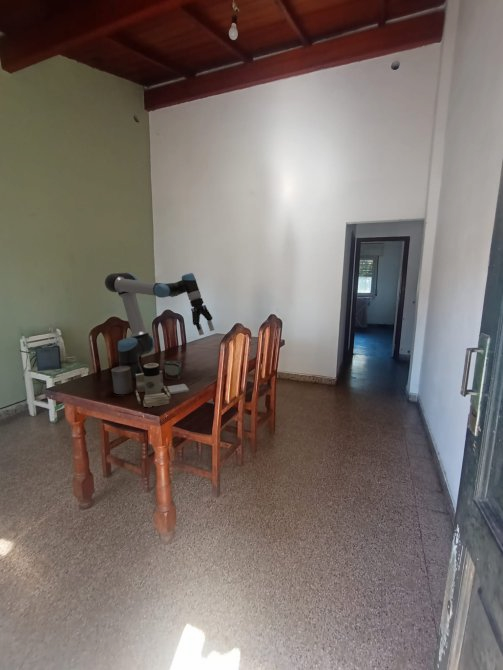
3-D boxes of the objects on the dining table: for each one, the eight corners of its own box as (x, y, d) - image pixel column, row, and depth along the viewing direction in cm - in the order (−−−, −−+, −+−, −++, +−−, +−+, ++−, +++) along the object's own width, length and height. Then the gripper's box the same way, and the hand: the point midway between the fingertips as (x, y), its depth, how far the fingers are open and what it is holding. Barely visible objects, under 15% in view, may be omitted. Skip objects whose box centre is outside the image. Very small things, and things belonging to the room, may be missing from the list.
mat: (167, 388, 191) (167, 386, 191) (184, 385, 195) (184, 383, 195) (170, 394, 182) (170, 392, 182) (188, 391, 186) (188, 389, 186)
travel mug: (151, 394, 181) (148, 362, 178) (164, 396, 179) (162, 363, 175) (142, 400, 174) (139, 366, 170) (156, 401, 172) (153, 367, 168)
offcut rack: (135, 391, 186) (133, 374, 184) (164, 387, 192) (163, 370, 190) (140, 409, 163) (138, 389, 161) (173, 403, 169) (172, 384, 167)
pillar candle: (130, 388, 192) (127, 362, 189) (134, 393, 184) (132, 366, 181) (112, 391, 187) (109, 365, 184) (116, 397, 179) (112, 370, 176)
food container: (186, 377, 209) (185, 361, 207) (180, 380, 204) (179, 364, 202) (170, 374, 214) (169, 359, 212) (164, 377, 209) (162, 362, 207)
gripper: (190, 299, 189) (202, 335, 191) (210, 295, 212) (221, 327, 214) (179, 303, 192) (191, 338, 194) (200, 298, 215) (211, 330, 216)
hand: (207, 332), depth 204 cm, fingers open, 13 cm apart
